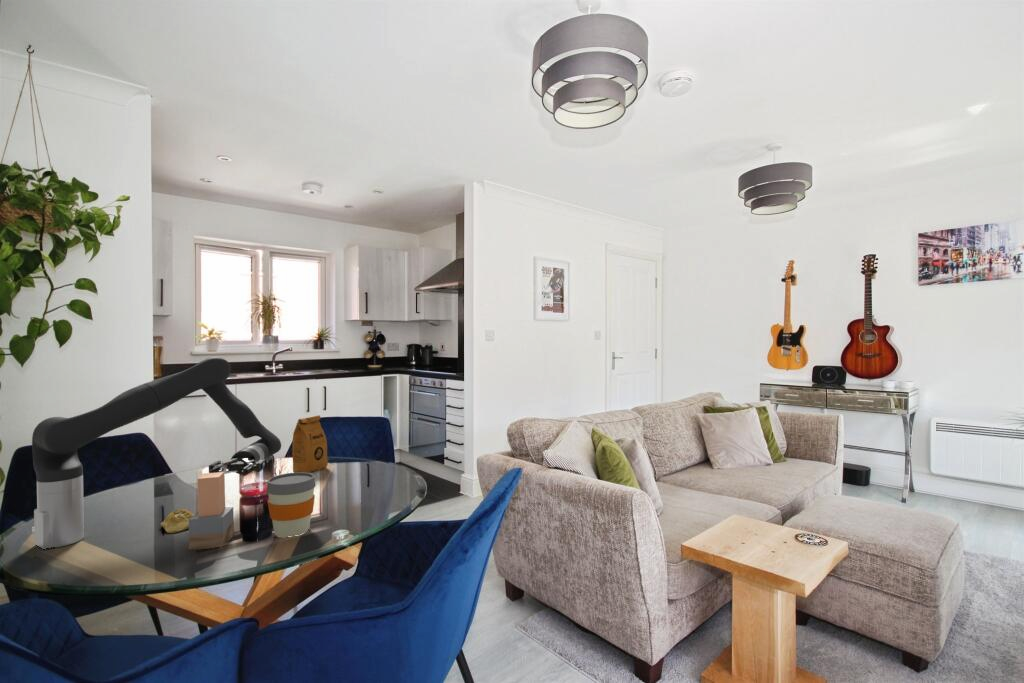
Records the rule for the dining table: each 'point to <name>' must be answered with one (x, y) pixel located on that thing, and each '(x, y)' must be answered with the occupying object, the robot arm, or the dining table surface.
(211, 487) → the terracotta block
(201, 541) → the tower base
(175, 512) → the golden lumpy piece
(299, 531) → the reusable coffee cup
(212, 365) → the robot arm
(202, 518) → the grey flat square block
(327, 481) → the dining table surface
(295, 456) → the coffee package
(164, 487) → the dining table surface
